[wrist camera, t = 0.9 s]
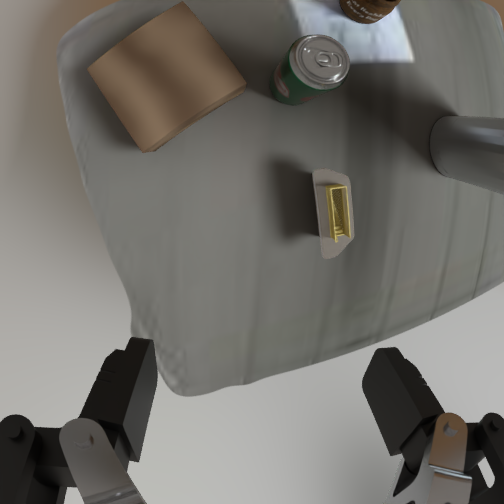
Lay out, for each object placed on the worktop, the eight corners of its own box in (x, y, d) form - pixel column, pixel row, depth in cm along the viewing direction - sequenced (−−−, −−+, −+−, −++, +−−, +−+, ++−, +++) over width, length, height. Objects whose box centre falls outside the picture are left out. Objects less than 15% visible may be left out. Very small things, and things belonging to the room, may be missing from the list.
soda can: (267, 65, 27) (288, 27, 16) (310, 66, 28) (350, 34, 17) (270, 106, 29) (293, 87, 18) (313, 106, 30) (357, 91, 18)
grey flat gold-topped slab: (357, 126, 31) (383, 125, 25) (367, 260, 38) (390, 281, 32) (261, 137, 31) (269, 136, 25) (284, 278, 38) (295, 304, 32)
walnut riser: (188, 18, 24) (183, 1, 20) (244, 91, 28) (246, 83, 24) (104, 76, 26) (86, 68, 21) (155, 151, 30) (142, 152, 25)
